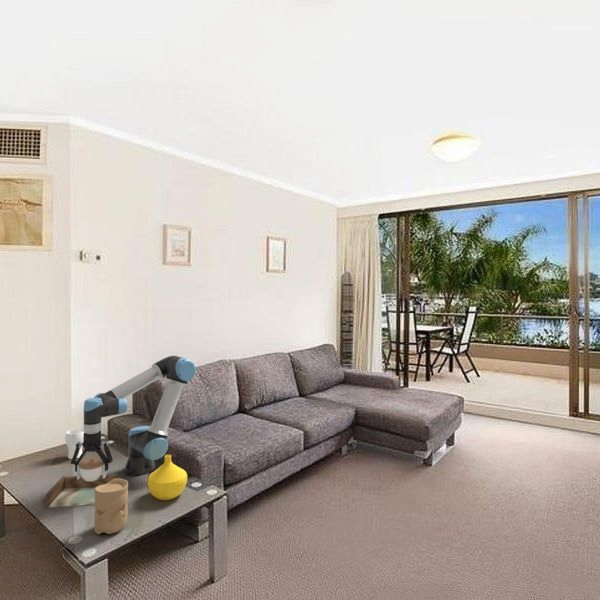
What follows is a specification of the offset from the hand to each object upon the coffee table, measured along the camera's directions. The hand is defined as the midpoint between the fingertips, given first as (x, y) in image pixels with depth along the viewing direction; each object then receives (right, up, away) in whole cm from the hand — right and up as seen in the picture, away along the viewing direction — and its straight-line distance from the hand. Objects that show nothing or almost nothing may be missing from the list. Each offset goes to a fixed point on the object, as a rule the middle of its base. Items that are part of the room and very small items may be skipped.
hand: (91, 477), depth 198 cm
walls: (-4, -9, +1) cm, 10 cm away
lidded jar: (0, -1, 0) cm, 1 cm away
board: (-4, -9, +1) cm, 10 cm away
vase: (+35, -10, +3) cm, 36 cm away
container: (+21, -10, -25) cm, 34 cm away
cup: (-33, -8, +46) cm, 57 cm away
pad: (0, -9, 0) cm, 9 cm away
